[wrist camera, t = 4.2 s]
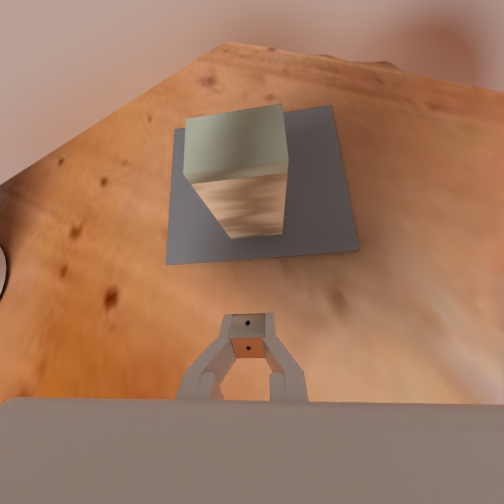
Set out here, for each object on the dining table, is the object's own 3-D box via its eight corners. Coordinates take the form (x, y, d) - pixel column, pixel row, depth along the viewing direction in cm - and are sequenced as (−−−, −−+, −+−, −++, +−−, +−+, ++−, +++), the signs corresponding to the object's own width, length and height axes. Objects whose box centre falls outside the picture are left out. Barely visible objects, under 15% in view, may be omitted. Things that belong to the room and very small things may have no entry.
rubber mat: (168, 265, 23) (165, 264, 23) (176, 132, 28) (174, 129, 28) (357, 251, 21) (359, 249, 20) (329, 109, 26) (331, 105, 25)
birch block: (230, 238, 23) (183, 173, 11) (230, 207, 24) (185, 118, 12) (282, 234, 22) (288, 160, 10) (279, 202, 23) (282, 103, 11)
